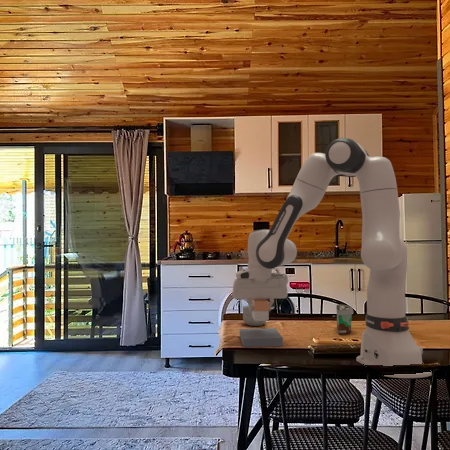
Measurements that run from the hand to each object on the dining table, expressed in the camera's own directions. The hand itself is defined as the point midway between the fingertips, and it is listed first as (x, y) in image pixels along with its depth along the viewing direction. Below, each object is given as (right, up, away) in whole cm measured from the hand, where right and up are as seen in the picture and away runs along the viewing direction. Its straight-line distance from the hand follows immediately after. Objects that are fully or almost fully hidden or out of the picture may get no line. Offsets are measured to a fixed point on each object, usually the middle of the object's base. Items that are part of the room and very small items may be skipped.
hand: (260, 310), depth 148 cm
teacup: (+1, -12, +25) cm, 28 cm away
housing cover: (0, +1, 0) cm, 1 cm away
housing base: (0, -3, 0) cm, 3 cm away
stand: (0, -11, 0) cm, 11 cm away
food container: (+35, -12, +13) cm, 39 cm away
